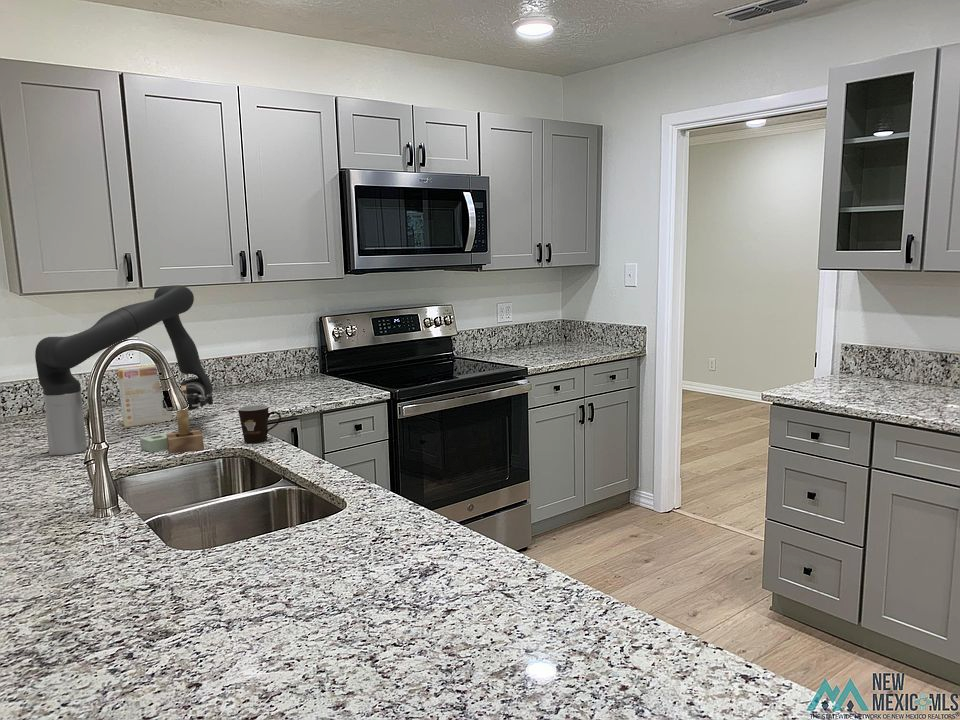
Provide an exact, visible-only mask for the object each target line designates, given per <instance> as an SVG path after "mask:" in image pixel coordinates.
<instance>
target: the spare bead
mask: <svg viewBox="0 0 960 720" xmlns="http://www.w3.org/2000/svg"><path fill="white" fill-rule="evenodd" d="M166 434H167V433H164V432H163V433H160V434H153V435H148V436H143V437H140V438H139V444H140V450H143V449H144V450H143V451H147V452H148V451H149V453H155V452H159V451H164V450H168V442H167V435H166Z"/></svg>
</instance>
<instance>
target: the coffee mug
mask: <svg viewBox="0 0 960 720" xmlns="http://www.w3.org/2000/svg"><path fill="white" fill-rule="evenodd" d="M269 408H270V407H269V405H267V404H266V405H265V404H254V405H245V406H241V407H238V409H237V411H238V416H239V421H240V426H241V427H240V428H241V430H242V431H241V432H242V436H243V441H244V443H245V444H252V445H253V444H260V443H265V442H267V441H268V433H269V432H270V431H271V430H273V429H274V428H275V427H277V426H278V425H279V423H280V422H281V421H282V415H281V413H280V412H278V411H276V410H274V411H273V410H272V411H270V412H269V410H270V409H269ZM272 414H275V415H277V416H278V420H277V422H276V423H275V424H274V425H272V426H271V427H269V424H268V423H269V418H270V416H271V415H272Z"/></svg>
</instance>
